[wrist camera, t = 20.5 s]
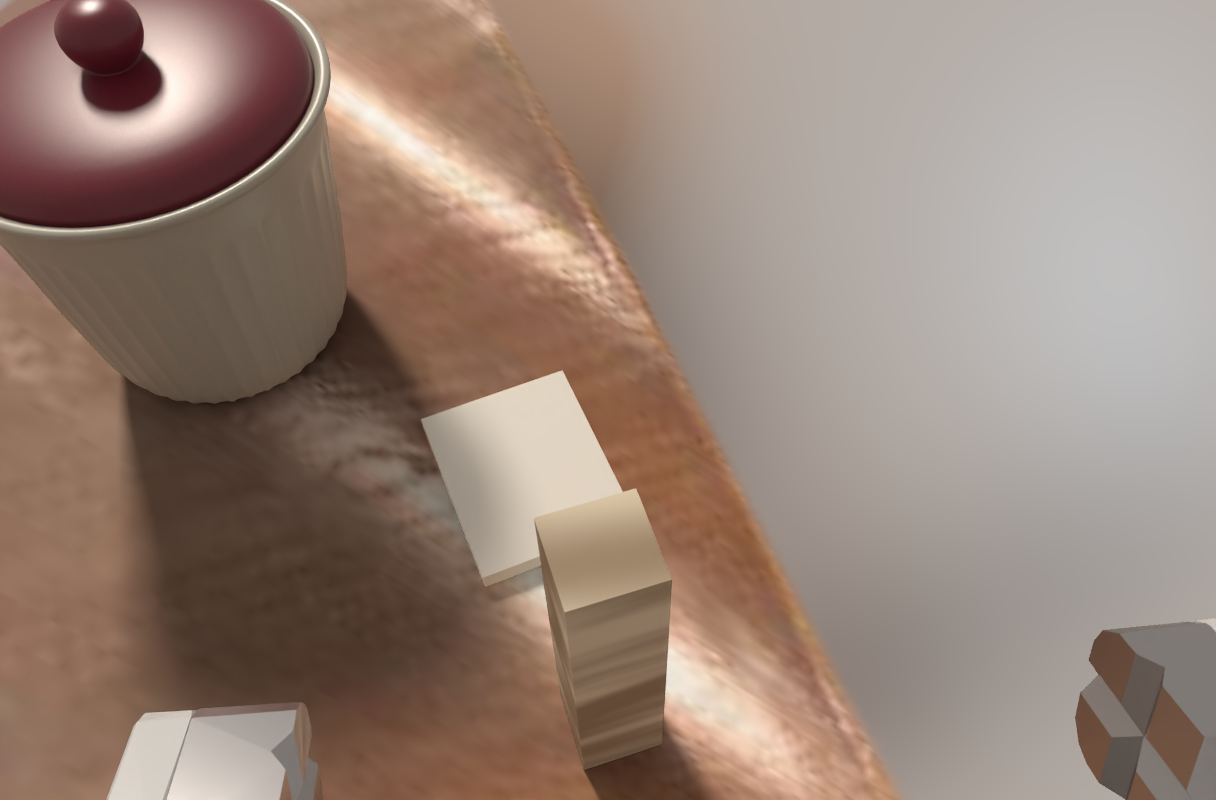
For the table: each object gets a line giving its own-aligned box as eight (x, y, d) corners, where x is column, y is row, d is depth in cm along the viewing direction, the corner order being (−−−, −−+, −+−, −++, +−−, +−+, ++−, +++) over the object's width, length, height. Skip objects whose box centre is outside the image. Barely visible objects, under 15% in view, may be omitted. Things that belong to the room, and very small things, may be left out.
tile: (636, 519, 53) (562, 370, 59) (482, 577, 51) (420, 419, 57) (636, 535, 54) (563, 387, 60) (486, 592, 53) (425, 436, 58)
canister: (61, 262, 66) (-140, -62, 49) (353, 184, 69) (261, -144, 52) (90, 502, 56) (-151, 199, 38) (430, 395, 59) (347, 75, 42)
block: (661, 744, 48) (671, 579, 35) (583, 770, 47) (564, 612, 34) (635, 670, 50) (635, 488, 37) (560, 693, 49) (534, 517, 36)
